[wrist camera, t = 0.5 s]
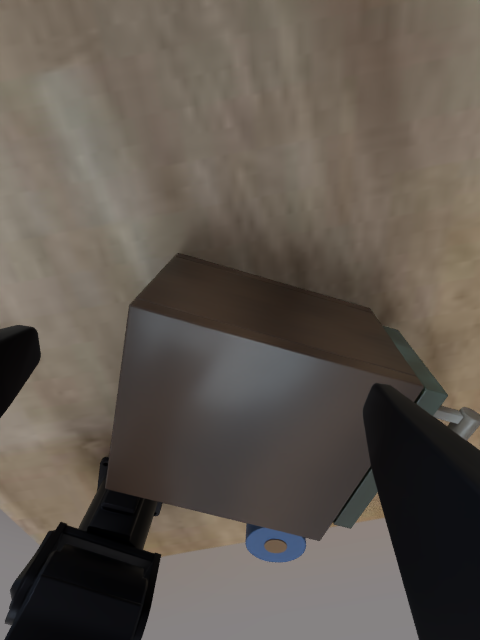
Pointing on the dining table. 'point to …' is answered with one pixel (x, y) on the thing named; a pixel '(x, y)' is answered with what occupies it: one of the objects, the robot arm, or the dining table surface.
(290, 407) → the cabinet
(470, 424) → the drawer
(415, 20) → the dining table surface
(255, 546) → the towel roll
